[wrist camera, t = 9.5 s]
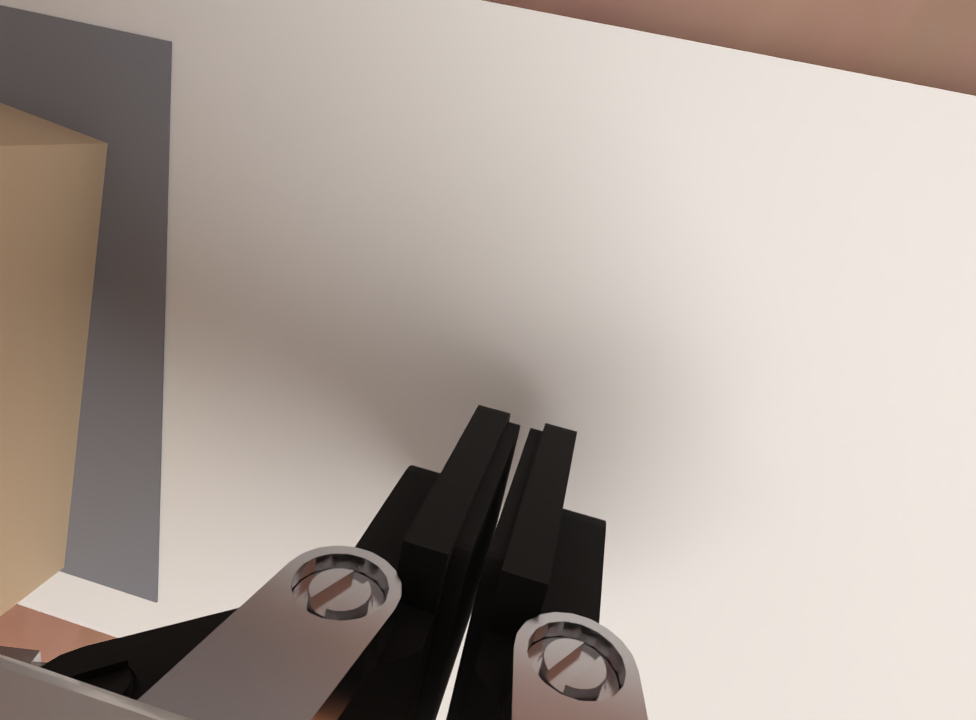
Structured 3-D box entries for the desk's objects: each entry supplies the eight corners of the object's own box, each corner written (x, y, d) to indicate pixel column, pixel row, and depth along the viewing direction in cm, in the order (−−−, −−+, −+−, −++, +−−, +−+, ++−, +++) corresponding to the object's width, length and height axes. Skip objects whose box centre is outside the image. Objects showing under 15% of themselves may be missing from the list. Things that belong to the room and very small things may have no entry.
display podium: (-244, -122, 15) (-445, -179, 12) (1212, 166, 12) (1400, 177, 9) (-150, 455, 20) (-275, 507, 18) (866, 777, 17) (914, 907, 14)
